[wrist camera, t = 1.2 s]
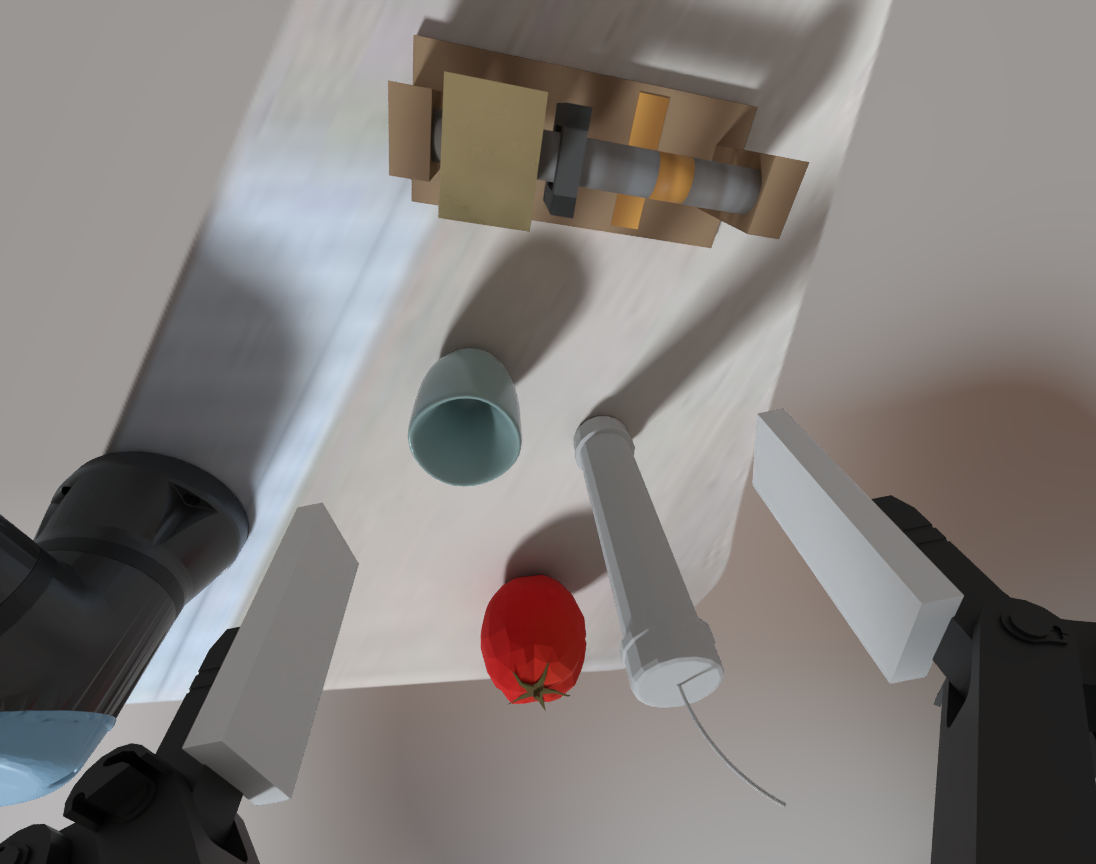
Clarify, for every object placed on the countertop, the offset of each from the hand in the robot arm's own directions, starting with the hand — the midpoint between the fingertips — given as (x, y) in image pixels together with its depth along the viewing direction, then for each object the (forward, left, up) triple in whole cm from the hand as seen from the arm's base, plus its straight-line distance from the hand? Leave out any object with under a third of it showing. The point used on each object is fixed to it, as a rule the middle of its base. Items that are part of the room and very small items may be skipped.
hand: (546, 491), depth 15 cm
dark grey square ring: (+2, +8, -21) cm, 23 cm away
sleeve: (-2, +8, -22) cm, 23 cm away
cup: (-2, -10, -27) cm, 29 cm away
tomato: (+7, -37, -27) cm, 47 cm away
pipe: (+11, -15, -27) cm, 33 cm away
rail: (+4, +8, -27) cm, 28 cm away
